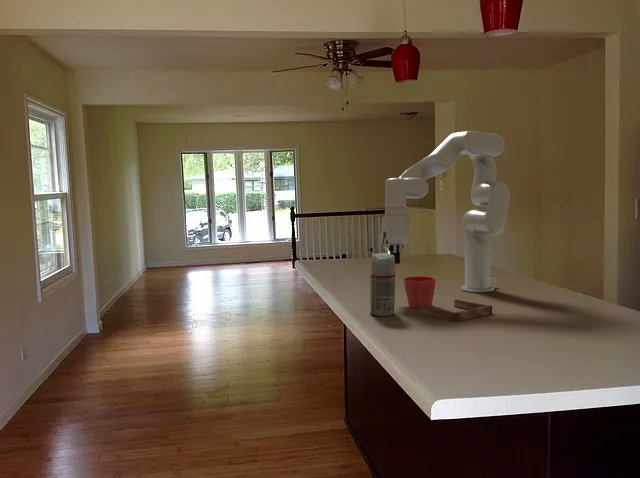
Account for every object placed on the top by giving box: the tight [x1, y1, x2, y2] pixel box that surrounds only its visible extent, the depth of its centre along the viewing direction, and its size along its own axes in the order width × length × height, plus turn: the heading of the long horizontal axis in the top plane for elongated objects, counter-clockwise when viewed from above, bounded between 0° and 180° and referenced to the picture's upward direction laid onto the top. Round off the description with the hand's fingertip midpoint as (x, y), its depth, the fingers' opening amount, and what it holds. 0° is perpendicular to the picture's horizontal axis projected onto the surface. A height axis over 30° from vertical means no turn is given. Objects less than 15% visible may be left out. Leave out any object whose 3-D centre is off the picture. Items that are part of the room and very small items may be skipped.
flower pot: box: [403, 275, 436, 309], centre depth 200 cm, size 11×11×10 cm
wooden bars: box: [420, 298, 493, 323], centre depth 187 cm, size 17×15×2 cm
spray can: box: [369, 252, 396, 317], centre depth 188 cm, size 8×8×20 cm
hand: (395, 263), depth 208 cm, fingers closed
